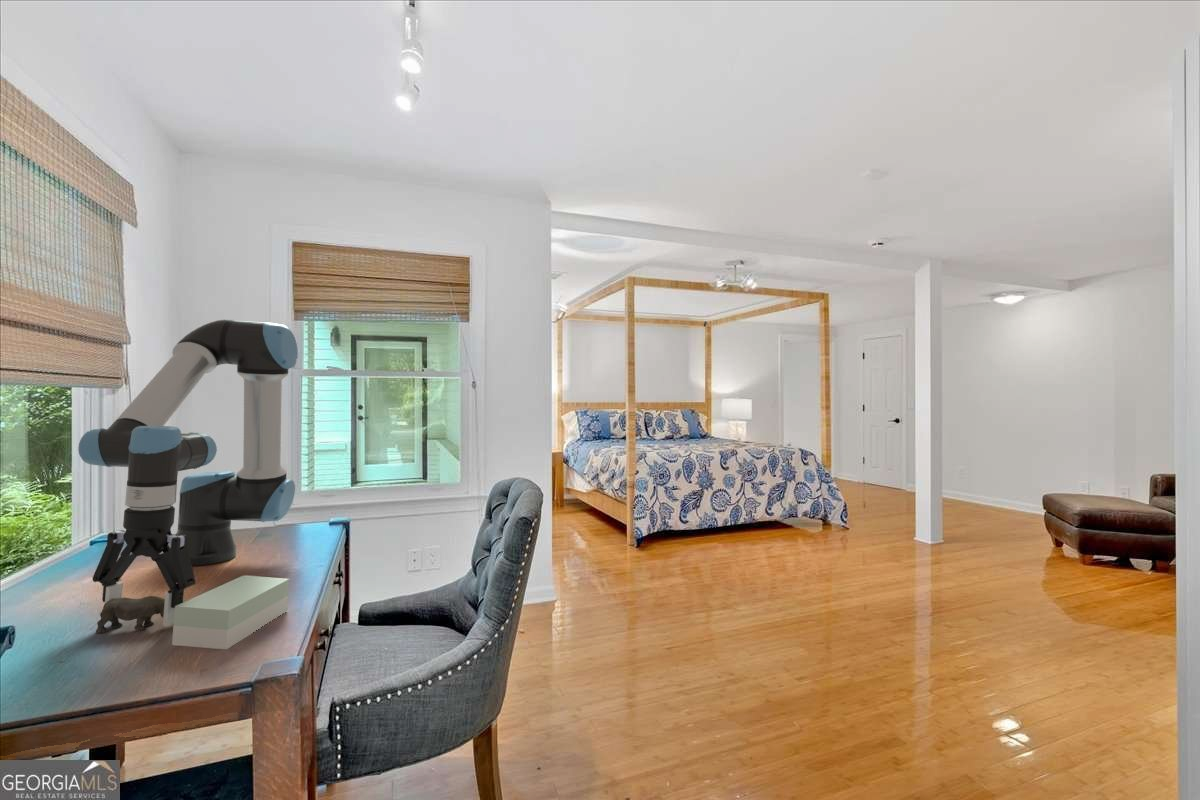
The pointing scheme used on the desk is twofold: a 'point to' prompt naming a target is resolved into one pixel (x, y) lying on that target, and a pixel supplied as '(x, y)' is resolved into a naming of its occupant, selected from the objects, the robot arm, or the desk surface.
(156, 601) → the rhino figurine
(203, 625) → the block
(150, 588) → the desk surface
